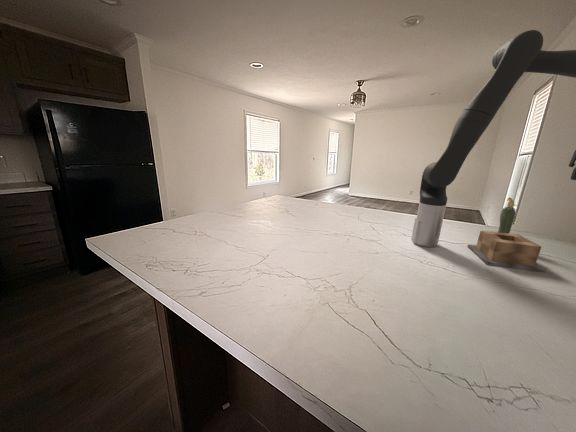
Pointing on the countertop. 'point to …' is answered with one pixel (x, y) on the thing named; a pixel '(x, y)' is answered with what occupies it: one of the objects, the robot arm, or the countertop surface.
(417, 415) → the countertop surface
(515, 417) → the countertop surface
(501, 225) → the vegetable
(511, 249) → the holder
